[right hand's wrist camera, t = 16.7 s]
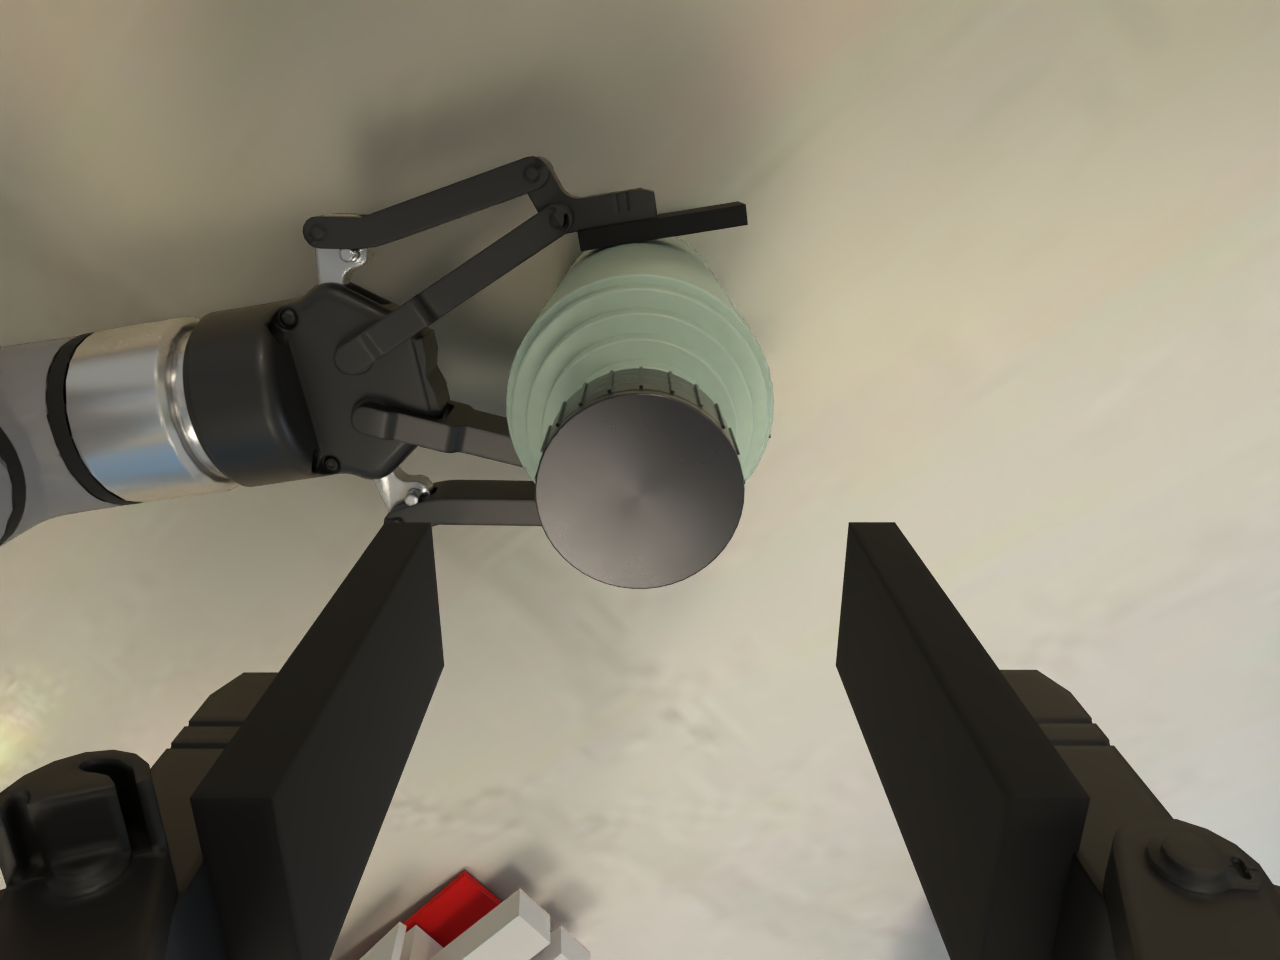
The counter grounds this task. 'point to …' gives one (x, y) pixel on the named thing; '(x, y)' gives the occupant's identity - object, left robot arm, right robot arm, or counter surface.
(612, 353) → the bottle
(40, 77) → the counter surface
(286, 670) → the right robot arm
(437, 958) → the toy
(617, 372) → the cap
